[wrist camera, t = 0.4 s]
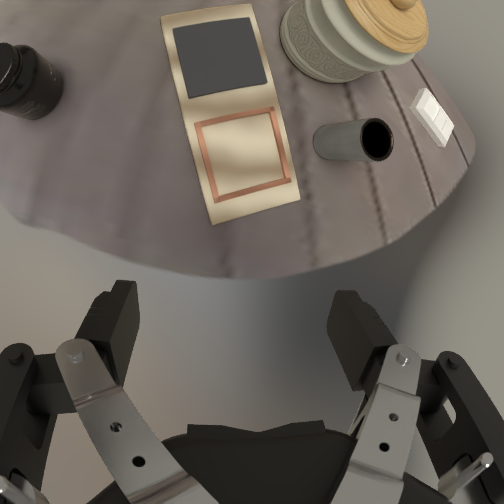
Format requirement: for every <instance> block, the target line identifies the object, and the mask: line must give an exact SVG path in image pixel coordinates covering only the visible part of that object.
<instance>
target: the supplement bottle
mask: <svg viewBox="0 0 504 504" xmlns="http://www.w3.org/2000/svg"><path fill="white" fill-rule="evenodd" d="M61 92H62V78H61V75H60V73H59V72H58V71H57V70H56V69H55V68H54V67H53V66H52V65H51V64H50V63H49V62H48V61H47V60H46V59H44V58H43V57H42V56H41V55H40V54H39V53H38V52H37V51H35V50H34V49H33V48H31V47H30V46H27V45H16V46H12V45H11V44H8V43H4V42H3V43H0V111H2V112H5V113H9V114H12V115H15V116H18V117H21V118H25V119H37V118H40V117H42V116H44V115H46V114H47V113H48V112H50V111H51V110H52V109H53V107H54V106H55V105H56V103H57V102H58V100H59V98H60V95H61Z"/></svg>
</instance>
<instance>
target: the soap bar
mask: <svg viewBox="0 0 504 504" xmlns="http://www.w3.org/2000/svg"><path fill="white" fill-rule="evenodd" d="M409 109H410V110H411V111H412V113H413V114H414V115H415V116H416V117H417V119H418V120H419V121H420V123H421V124H422V125H423V126H424V128H425V129H426V130H427V132H428V133H429V134H430V136H431V137H432V138H433V140H434V141H435V142H436V144H437V145H438V147H445V145H446V143H447V141H448V139H449V136H450V134H451V132H452V130H453V127H454V125H453V123H452V122H451V120H450V119H449V117H448V116H447V114H446V113H445V112H444V110H443V109H442V107H441V106H440V104H439V103H438V102H437V100H436V99H435V98H434V96H433V95H432V94H431V93H430V92H429V91H428V90H427V89H426V88H423V89H420V90H419V92H418V93H417V95H416V97H415V99H414V101H413V103H412V105H411V106H410V108H409Z"/></svg>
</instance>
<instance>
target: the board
mask: <svg viewBox="0 0 504 504" xmlns="http://www.w3.org/2000/svg"><path fill="white" fill-rule="evenodd" d="M244 17H250V21H251V24H252V27H253V31H254V34H255V38H256V41H257V45H258V48H259V52H260V55H261V59H262V63H263V66H264V70H265V74H266V77H267V81H268V83H266V84H262V85H256V86H250V87H244V88H238V89H233V90H228V91H222V92H218V93H213V94H208V95H204V96H199V97H195V98H191V99H189V98H188V94H187V90H186V86H185V82H184V78H183V74H182V70H181V66H180V61H179V57H178V53H177V49H176V44H175V40H174V36H173V32H172V30H173V28H177V27H182V26H187V25H193V24H198V23H204V22H211V21H218V20H226V19H234V18H244ZM160 23H161V27H162V32H163V36H164V41H165V45H166V50H167V54H168V59H169V63H170V67H171V71H172V76H173V80H174V84H175V88H176V92H177V96H178V101H179V105H180V109H181V113H182V117H183V121H184V125H185V129H186V133H187V137H188V140H189V144H190V148H191V152H192V156H193V160H194V163H195V167H196V171H197V175H198V178H199V182H200V186H201V190H202V193H203V197H204V201H205V204H206V208H207V211H208V215H209V219H210V222H211V224H212V225H215V224H219V223H222V222H225V221H228V220H232V219H235V218H238V217H242V216H245V215H248V214H252V213H255V212H258V211H262V210H265V209H269V208H272V207H276V206H279V205H282V204H286V203H289V202H293V201H297V200H300V195H299V190H298V185H297V180H296V176H295V171H294V166H293V162H292V157H291V153H290V148H289V144H288V140H287V135H286V131H285V127H284V123H283V118H282V114H281V110H280V106H279V102H278V98H277V94H276V90H275V87H274V83H273V79H272V75H271V72H270V68H269V64H268V60H267V57H266V53H265V50H264V46H263V43H262V39H261V36H260V32H259V29H258V26H257V22H256V19H255V16H254V12H253V9H252V6H251V4H237V5H227V6H218V7H211V8H203V9H197V10H191V11H185V12H180V13H175V14H170V15H165V16H160Z"/></svg>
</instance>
